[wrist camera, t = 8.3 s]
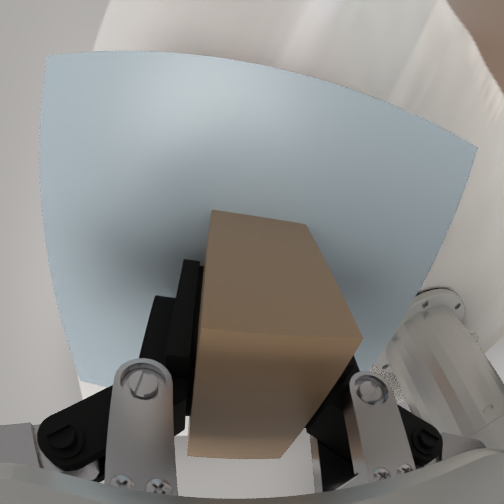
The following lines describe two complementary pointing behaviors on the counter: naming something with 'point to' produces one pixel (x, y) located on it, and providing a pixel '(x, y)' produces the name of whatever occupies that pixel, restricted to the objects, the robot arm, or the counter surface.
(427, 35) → the counter surface
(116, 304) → the sheet
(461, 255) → the counter surface
